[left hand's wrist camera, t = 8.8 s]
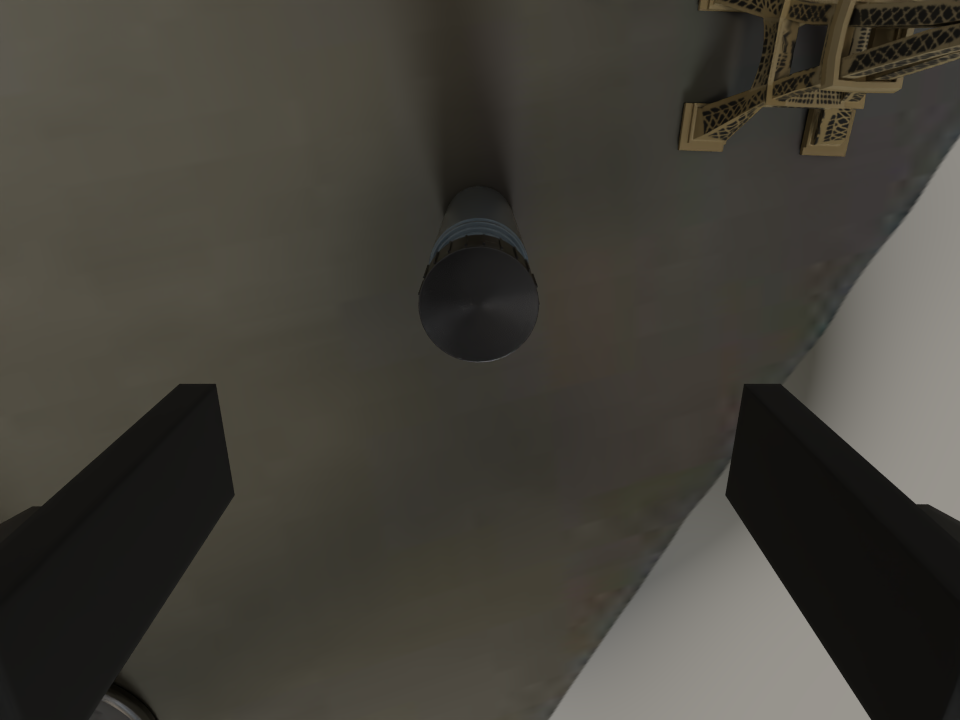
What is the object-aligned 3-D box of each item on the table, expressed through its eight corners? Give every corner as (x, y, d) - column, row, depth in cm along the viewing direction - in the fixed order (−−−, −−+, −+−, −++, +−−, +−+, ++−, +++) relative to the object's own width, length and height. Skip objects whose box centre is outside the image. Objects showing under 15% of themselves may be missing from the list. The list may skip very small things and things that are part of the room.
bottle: (522, 241, 42) (556, 337, 23) (459, 264, 42) (444, 376, 24) (499, 175, 40) (516, 223, 22) (434, 200, 41) (397, 268, 23)
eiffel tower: (705, -44, 36) (1130, -348, 12) (887, -37, 36) (1645, -322, 13) (677, 149, 40) (961, 195, 16) (842, 156, 40) (1357, 210, 16)
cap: (549, 320, 25) (556, 340, 23) (447, 356, 26) (444, 380, 24) (512, 216, 24) (516, 226, 22) (405, 257, 24) (397, 271, 22)
